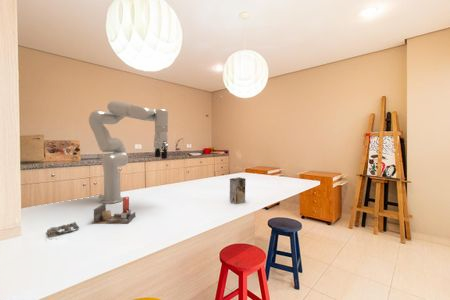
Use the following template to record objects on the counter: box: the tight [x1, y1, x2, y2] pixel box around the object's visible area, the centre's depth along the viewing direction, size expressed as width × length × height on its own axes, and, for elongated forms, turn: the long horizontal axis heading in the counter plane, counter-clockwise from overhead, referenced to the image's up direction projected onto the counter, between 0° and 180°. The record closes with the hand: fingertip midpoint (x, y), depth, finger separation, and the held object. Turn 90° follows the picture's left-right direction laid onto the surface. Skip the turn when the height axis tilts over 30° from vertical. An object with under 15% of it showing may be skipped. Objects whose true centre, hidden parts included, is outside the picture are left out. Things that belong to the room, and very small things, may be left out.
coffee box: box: [229, 177, 246, 205], centre depth 144 cm, size 9×6×16 cm
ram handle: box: [120, 196, 132, 219], centre depth 106 cm, size 3×5×11 cm, turn 2°
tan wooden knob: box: [102, 209, 112, 221], centre depth 106 cm, size 4×4×4 cm
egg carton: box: [46, 221, 80, 238], centre depth 92 cm, size 11×8×4 cm
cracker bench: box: [91, 203, 137, 225], centre depth 106 cm, size 17×10×8 cm, turn 92°
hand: (160, 157), depth 130 cm, fingers open, 9 cm apart
